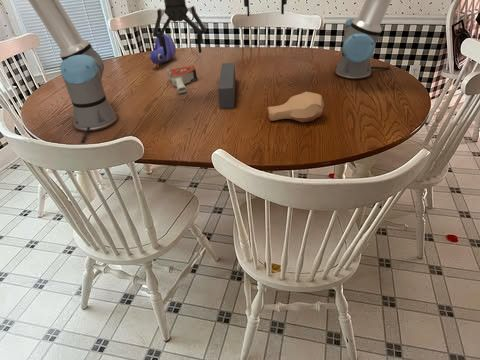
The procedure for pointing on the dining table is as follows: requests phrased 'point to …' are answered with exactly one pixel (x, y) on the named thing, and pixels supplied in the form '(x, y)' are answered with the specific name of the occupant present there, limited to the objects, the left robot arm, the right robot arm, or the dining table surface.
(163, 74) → the dining table surface
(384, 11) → the right robot arm
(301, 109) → the squash
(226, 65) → the bar
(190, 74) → the tape dispenser
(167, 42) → the toy
